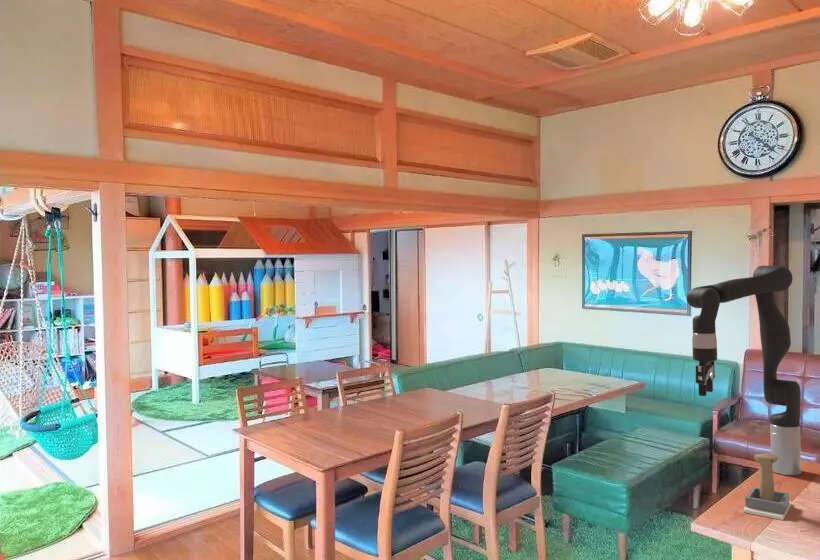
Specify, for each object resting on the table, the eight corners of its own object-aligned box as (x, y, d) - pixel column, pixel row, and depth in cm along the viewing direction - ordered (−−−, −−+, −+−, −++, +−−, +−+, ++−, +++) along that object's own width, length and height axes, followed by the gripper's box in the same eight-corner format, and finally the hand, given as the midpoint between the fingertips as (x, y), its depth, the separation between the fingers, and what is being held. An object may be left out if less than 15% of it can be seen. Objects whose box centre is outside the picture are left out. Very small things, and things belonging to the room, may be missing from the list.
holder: (753, 497, 196) (753, 485, 196) (791, 504, 189) (790, 491, 189) (743, 512, 184) (743, 499, 184) (783, 520, 178) (782, 506, 178)
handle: (782, 506, 186) (780, 457, 185) (764, 508, 184) (762, 459, 184) (770, 500, 190) (769, 453, 190) (752, 502, 189) (750, 454, 189)
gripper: (711, 349, 198) (712, 398, 198) (721, 344, 209) (723, 391, 209) (686, 348, 203) (688, 396, 203) (698, 343, 213) (700, 389, 214)
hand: (706, 393), depth 206 cm, fingers open, 8 cm apart
